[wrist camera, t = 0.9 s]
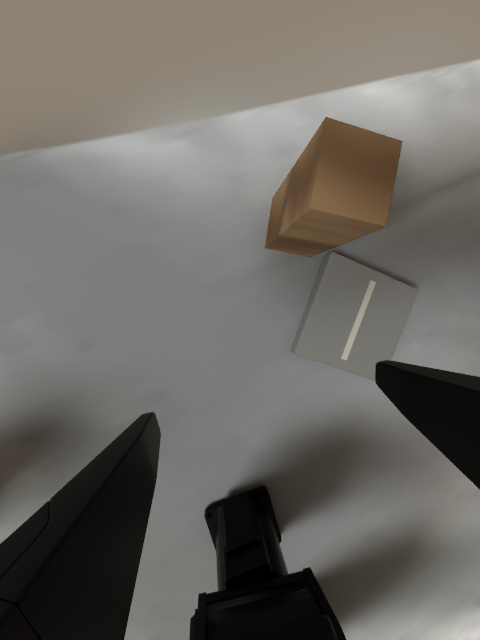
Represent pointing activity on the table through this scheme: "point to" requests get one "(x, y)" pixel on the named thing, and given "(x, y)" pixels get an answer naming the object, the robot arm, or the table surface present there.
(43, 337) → the table surface
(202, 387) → the table surface
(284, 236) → the walnut block
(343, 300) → the coaster
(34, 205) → the table surface
